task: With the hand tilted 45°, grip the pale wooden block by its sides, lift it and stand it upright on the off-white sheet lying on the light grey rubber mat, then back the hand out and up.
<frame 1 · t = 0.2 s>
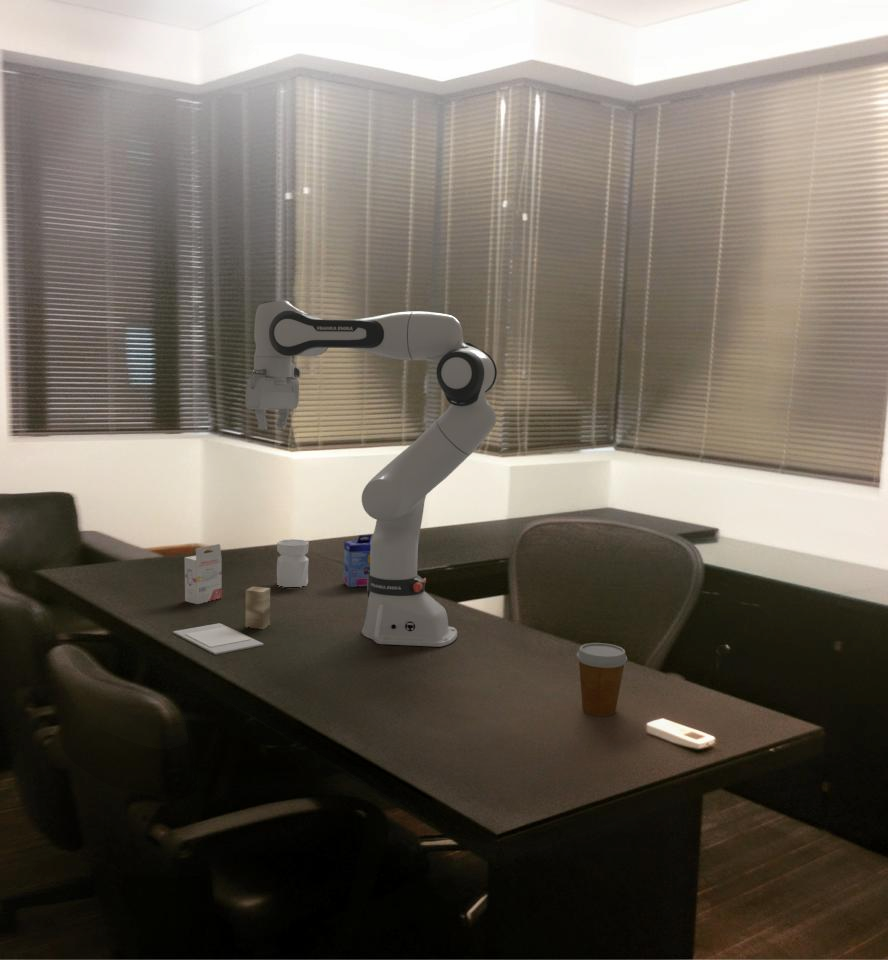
hand: (272, 428, 242), 47 cm above the table, tool pointing down, fingers open, 8 cm apart
grey mat: (217, 639, 232), on the table
ink cartridge box: (361, 585, 288), on the table
disposable coffee cup: (598, 711, 195), on the table
wooden block: (257, 625, 244), on the table
ink cartridge box 2: (203, 600, 266), on the table
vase: (292, 585, 285), on the table
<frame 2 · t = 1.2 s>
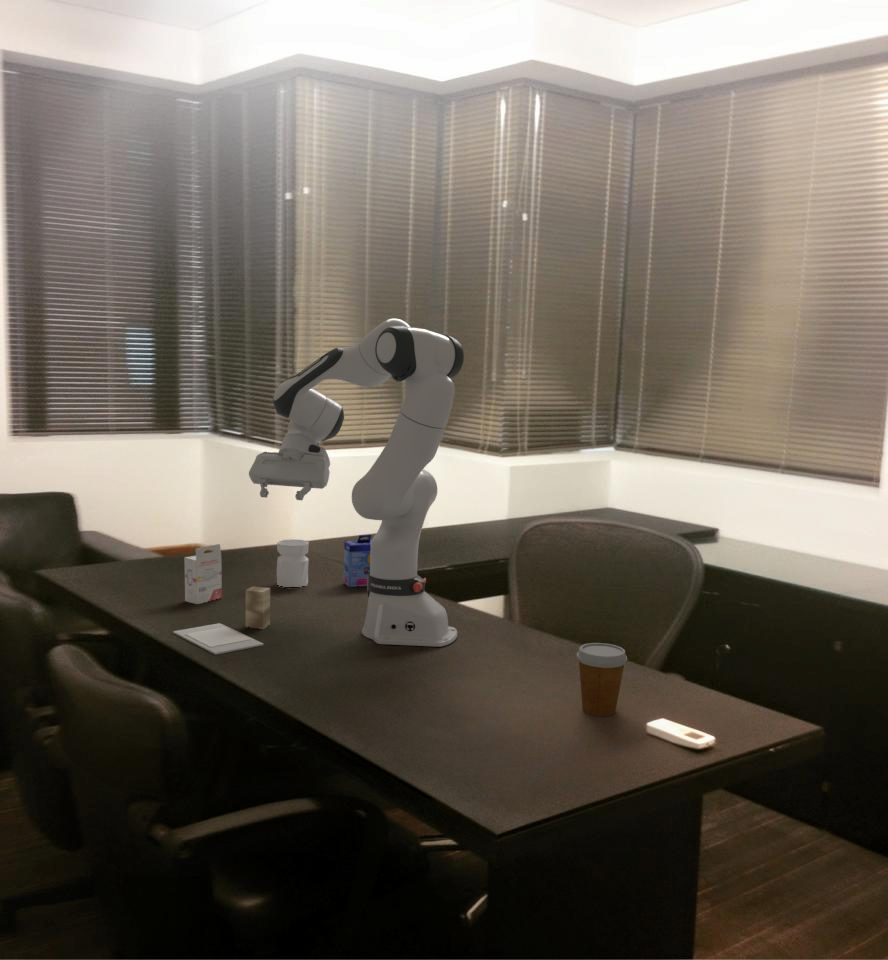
hand: (280, 497, 253), 29 cm above the table, tool tilted 45°, fingers open, 8 cm apart
nothing on the table moved.
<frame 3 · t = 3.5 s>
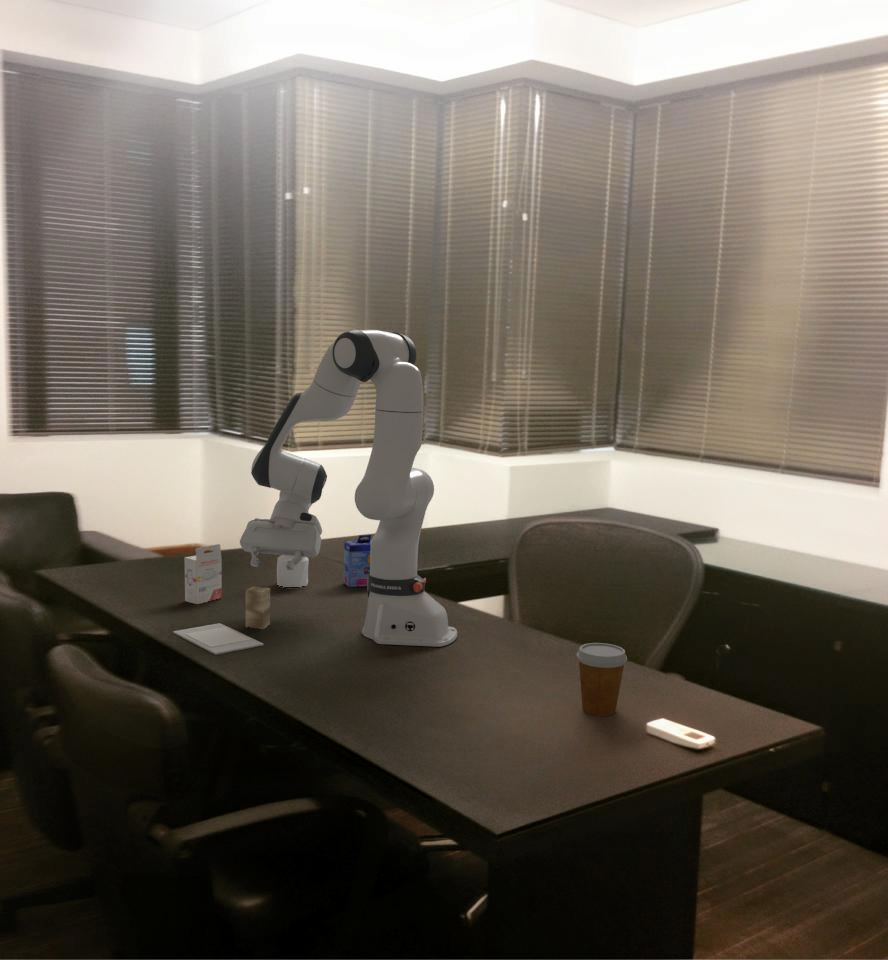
hand: (271, 567, 250), 13 cm above the table, tool tilted 45°, fingers open, 8 cm apart
nothing on the table moved.
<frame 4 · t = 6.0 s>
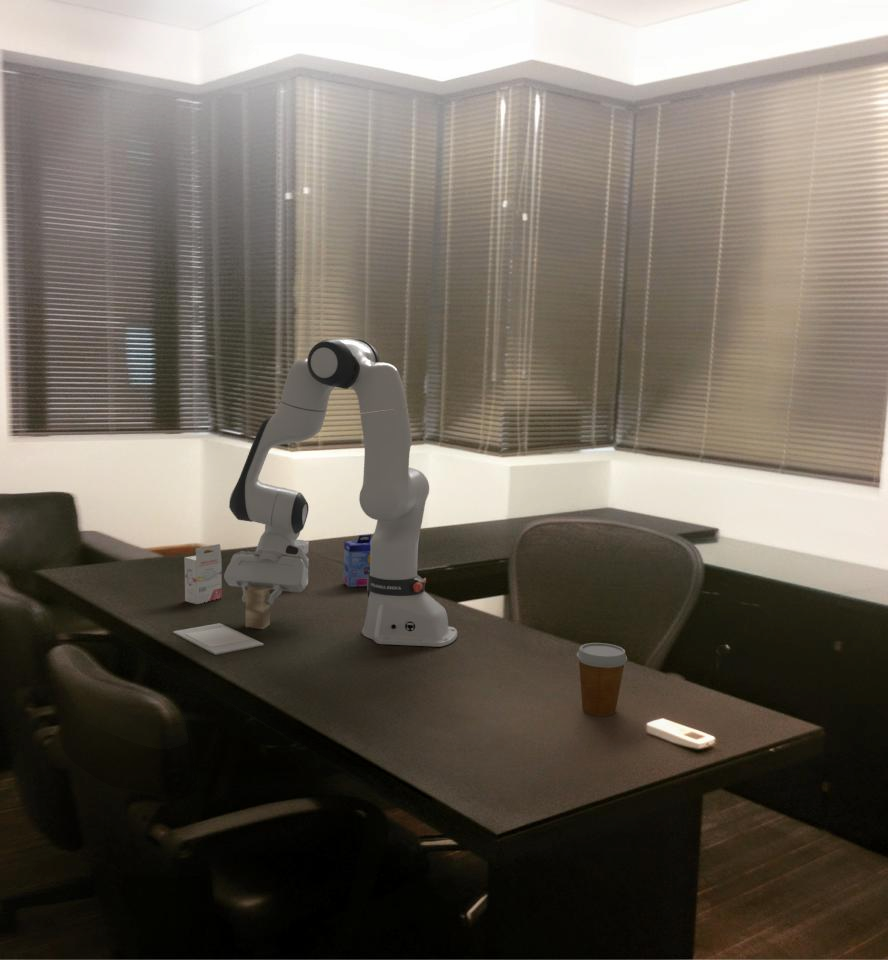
hand: (256, 602, 242), 6 cm above the table, tool tilted 45°, fingers closed on wooden block, 4 cm apart
wooden block: (257, 625, 244), on the table, touching gripper
everything else where it was.
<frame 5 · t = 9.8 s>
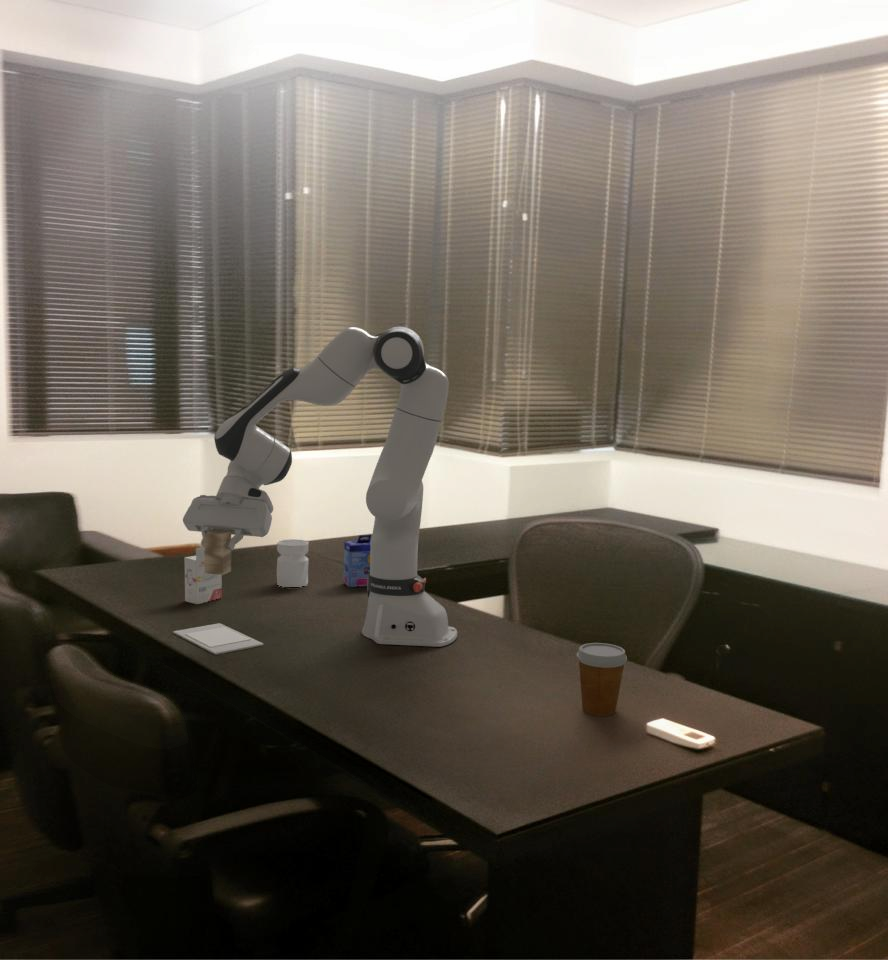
hand: (216, 547, 229), 21 cm above the table, tool tilted 45°, fingers closed on wooden block, 4 cm apart
wooden block: (217, 572, 230), point 16 cm above the table, touching gripper
everything else where it was.
when the fingers open (8 cm above the table, at t = 13.5 s): wooden block drops 1 cm, resting on grey mat.
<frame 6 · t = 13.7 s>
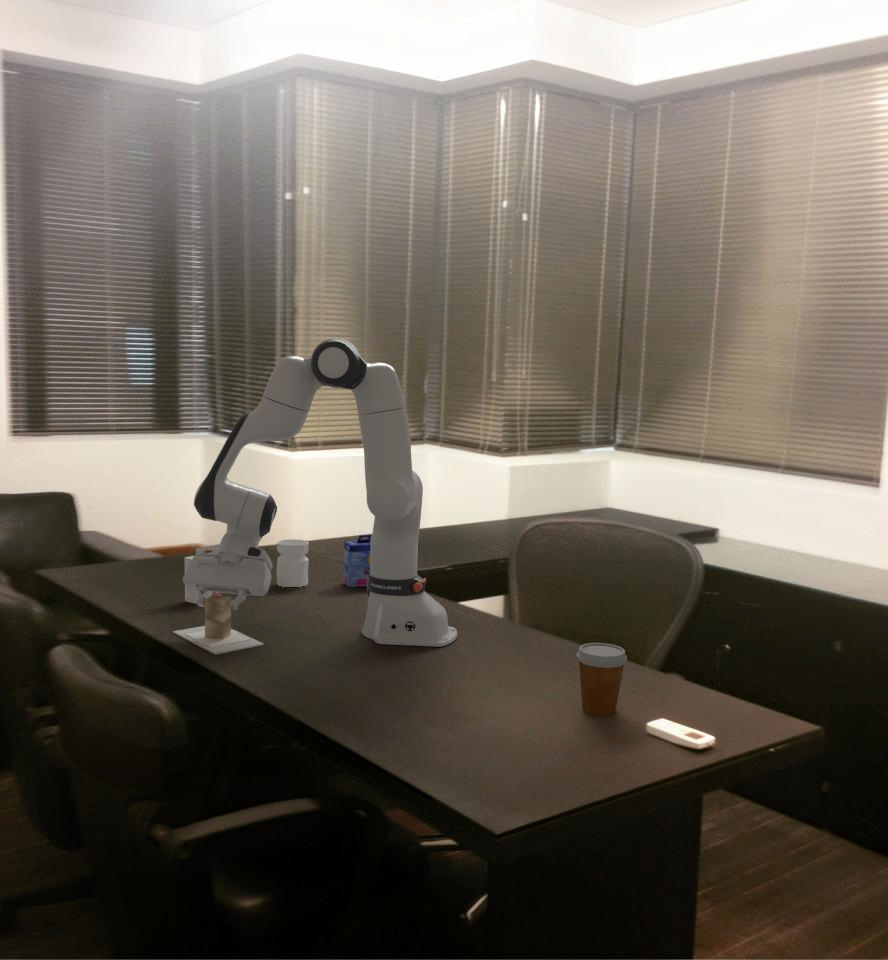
hand: (216, 607, 231), 8 cm above the table, tool tilted 45°, fingers open, 6 cm apart
wooden block: (217, 636, 232), point 1 cm above the table, touching grey mat
everything else where it was.
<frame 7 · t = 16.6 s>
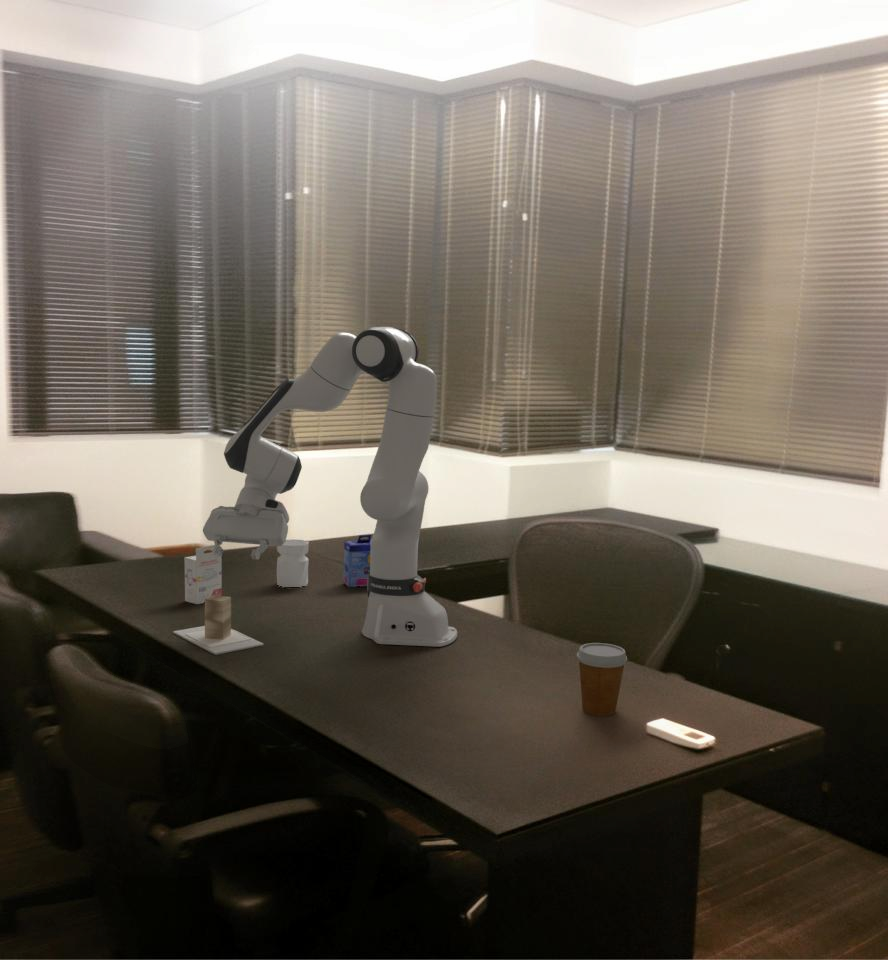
hand: (235, 556, 239), 17 cm above the table, tool tilted 45°, fingers open, 8 cm apart
nothing on the table moved.
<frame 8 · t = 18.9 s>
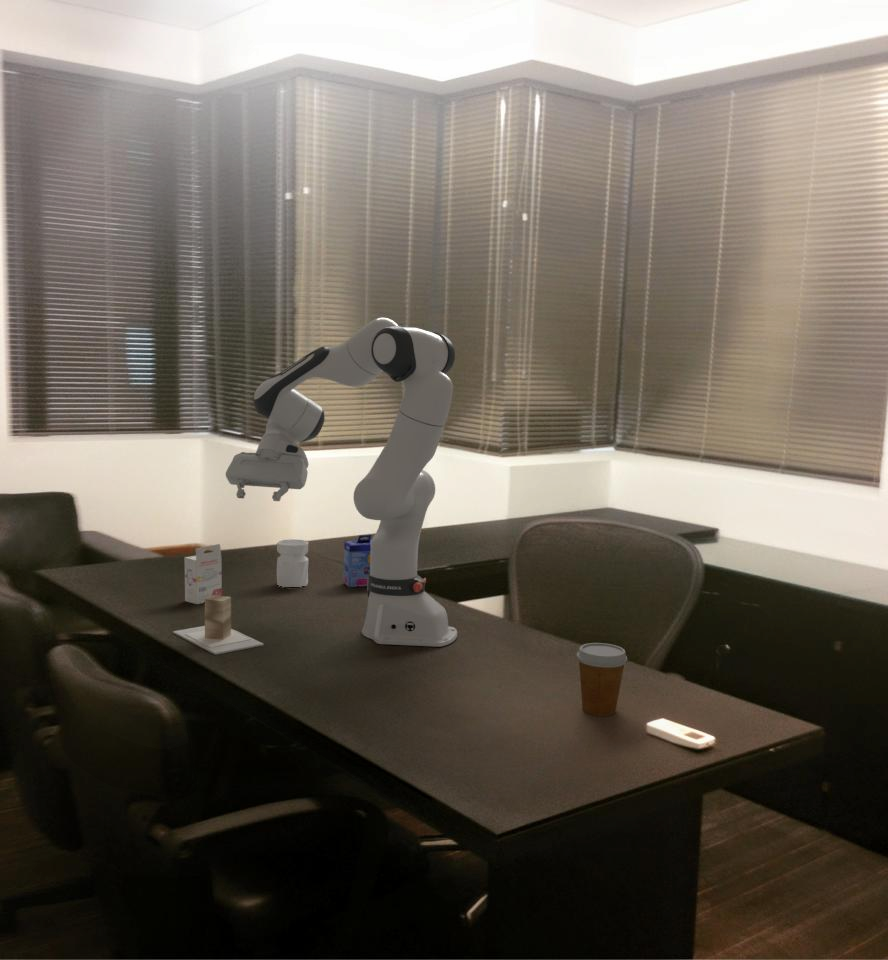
hand: (257, 498, 249), 29 cm above the table, tool tilted 45°, fingers open, 8 cm apart
nothing on the table moved.
at the end: wooden block inside the target area on the grey mat (0.1 cm from its centre), point 0.6 cm above the grey mat's base; wooden block tilted 0°; the gripper is holding nothing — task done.
